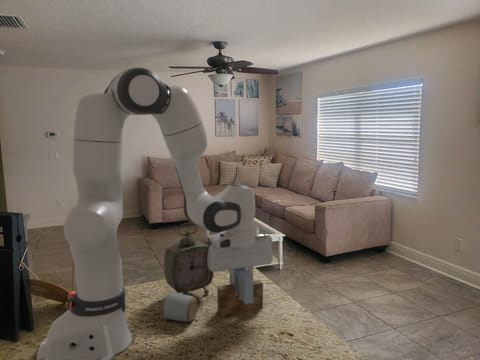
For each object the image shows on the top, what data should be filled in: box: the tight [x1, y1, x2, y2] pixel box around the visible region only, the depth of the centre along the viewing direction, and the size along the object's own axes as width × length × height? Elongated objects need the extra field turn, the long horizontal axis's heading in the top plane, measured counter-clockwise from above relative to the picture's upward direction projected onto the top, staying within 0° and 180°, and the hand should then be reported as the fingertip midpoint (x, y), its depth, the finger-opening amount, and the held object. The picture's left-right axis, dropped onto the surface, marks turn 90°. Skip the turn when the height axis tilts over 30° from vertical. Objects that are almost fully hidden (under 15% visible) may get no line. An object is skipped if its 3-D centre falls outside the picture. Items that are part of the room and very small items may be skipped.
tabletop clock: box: [163, 221, 214, 295], centre depth 126 cm, size 14×9×25 cm, turn 123°
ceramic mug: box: [162, 291, 198, 323], centre depth 113 cm, size 11×8×8 cm
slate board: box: [229, 268, 254, 304], centre depth 116 cm, size 14×2×8 cm, turn 20°
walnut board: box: [216, 279, 264, 316], centre depth 117 cm, size 14×2×8 cm, turn 110°
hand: (240, 280), depth 117 cm, fingers closed on slate board, 2 cm apart
